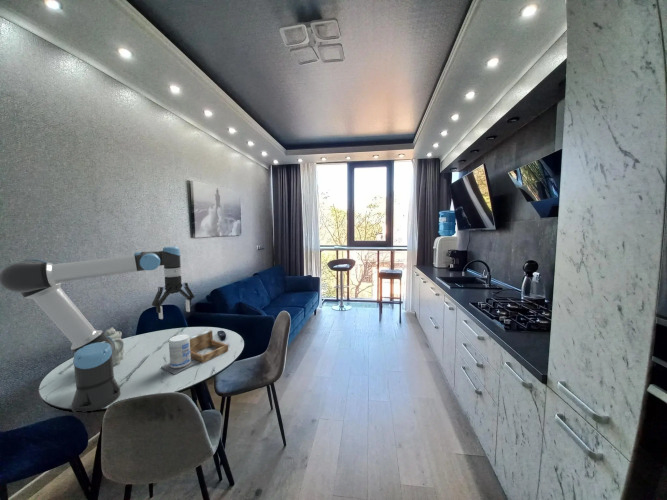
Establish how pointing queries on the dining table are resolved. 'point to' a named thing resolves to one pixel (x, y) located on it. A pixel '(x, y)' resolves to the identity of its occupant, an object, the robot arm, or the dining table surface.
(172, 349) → the supplement tub
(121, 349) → the beige lumpy upright piece
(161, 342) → the dining table surface
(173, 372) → the mat
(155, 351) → the dining table surface
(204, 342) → the frame
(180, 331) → the dining table surface
